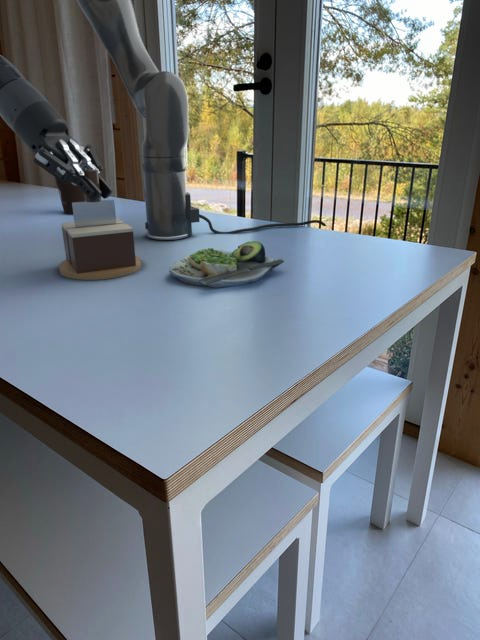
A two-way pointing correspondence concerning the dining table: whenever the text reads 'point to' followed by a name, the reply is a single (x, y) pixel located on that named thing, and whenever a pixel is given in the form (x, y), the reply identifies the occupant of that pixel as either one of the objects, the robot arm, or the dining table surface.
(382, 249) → the dining table surface
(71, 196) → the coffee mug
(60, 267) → the cake
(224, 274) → the salad plate
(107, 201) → the cake cutter
